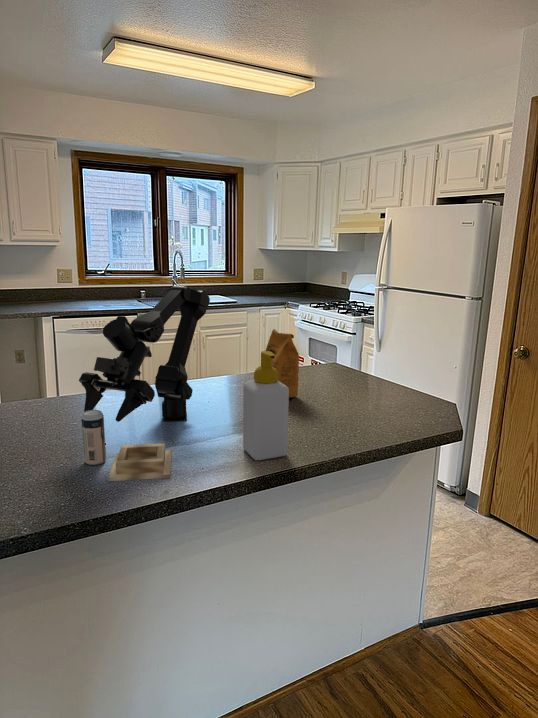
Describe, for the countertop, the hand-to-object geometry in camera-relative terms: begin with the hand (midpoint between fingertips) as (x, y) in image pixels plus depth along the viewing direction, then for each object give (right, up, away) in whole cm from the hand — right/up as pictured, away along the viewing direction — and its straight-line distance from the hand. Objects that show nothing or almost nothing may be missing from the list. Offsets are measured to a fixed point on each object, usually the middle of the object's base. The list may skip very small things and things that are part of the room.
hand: (100, 418), depth 117 cm
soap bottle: (+38, -9, +7) cm, 40 cm away
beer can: (-1, -10, 0) cm, 10 cm away
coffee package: (+42, +1, +53) cm, 68 cm away
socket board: (+10, -11, -2) cm, 15 cm away
